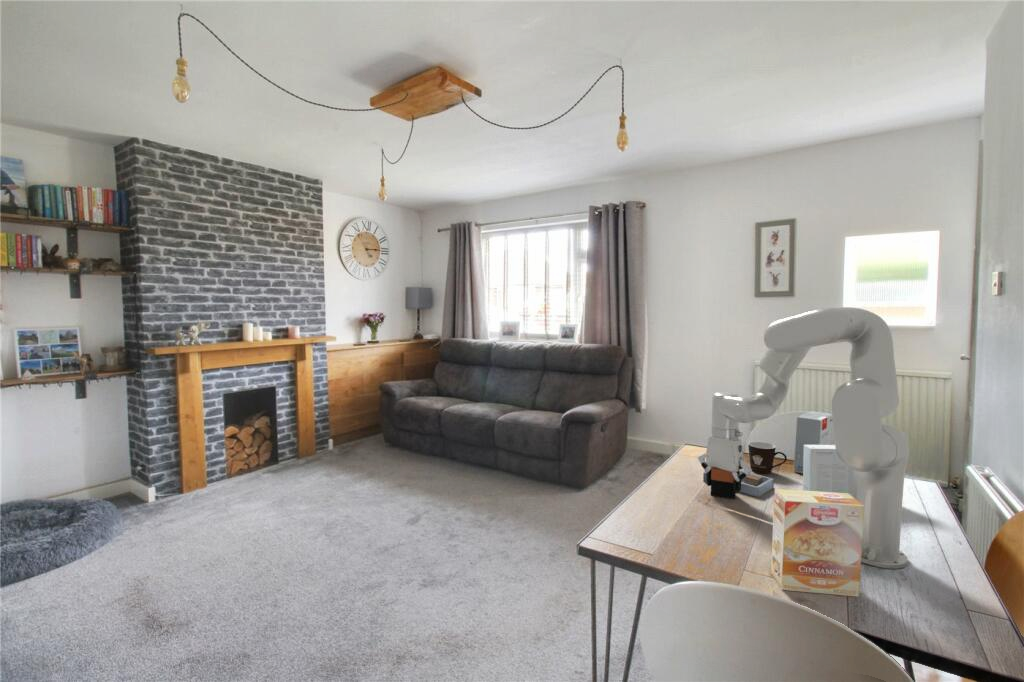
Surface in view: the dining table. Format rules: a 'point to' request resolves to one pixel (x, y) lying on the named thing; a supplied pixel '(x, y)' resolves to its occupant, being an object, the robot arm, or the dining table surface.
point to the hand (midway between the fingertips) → (723, 488)
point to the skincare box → (825, 470)
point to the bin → (753, 490)
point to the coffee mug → (763, 457)
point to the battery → (722, 483)
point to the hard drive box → (811, 434)
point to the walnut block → (753, 480)
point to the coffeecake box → (817, 542)
